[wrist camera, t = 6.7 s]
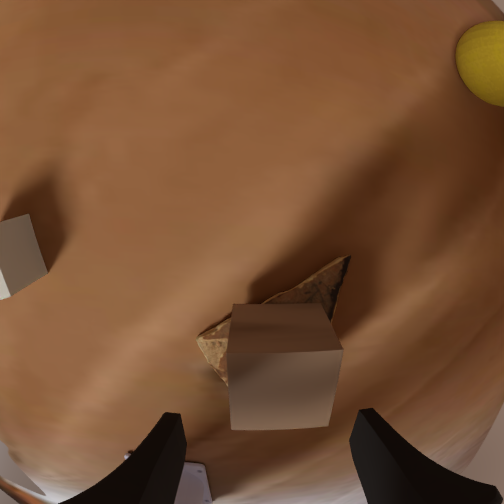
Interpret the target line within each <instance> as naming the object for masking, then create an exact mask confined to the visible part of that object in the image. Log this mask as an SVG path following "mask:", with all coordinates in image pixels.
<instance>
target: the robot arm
mask: <svg viewBox="0 0 504 504" xmlns="http://www.w3.org/2000/svg"><path fill="white" fill-rule="evenodd" d="M349 442H350V447H351V452H352V457H353V461H354V464H355V467H356V470H357V473H358V476H359V479H360V481H361V484H362V487H363V490H364V493H365V496H366V499H367V502H368V504H501V503H502V501H503V498H502V496H501V495H500V493H499V491H498V489H497V488H496V487H495V486H493V485H489V484H485V483H481V482H477V481H474V480H471V479H469V478H466V477H463V476H461V475H458V474H456V473H454V472H452V471H450V470H448V469H446V468H444V467H442V466H441V465H439V464H437V463H436V462H434V461H432V460H431V459H429V458H428V457H426V456H425V455H423V454H422V453H421V452H419V451H418V450H417V449H416V448H414V447H413V446H412V445H411V444H410V443H408V442H407V441H406V440H405V439H404V438H403V437H402V436H401V435H400V434H398V433H397V432H396V431H395V430H394V429H393V428H392V427H391V426H390V425H389V424H388V423H387V422H386V421H385V420H384V419H383V418H382V417H381V416H380V415H379V414H378V413H377V412H376V411H375V410H374V409H373V408H368V409H362V410H359V412H358V415H357V418H356V421H355V424H354V427H353V430H352V433H351V436H350V439H349ZM186 446H187V442H186V438H185V433H184V429H183V424H182V419H181V414H178V413H169V412H165V413H164V414H163V415H162V417H161V418H160V420H159V421H158V422H157V424H156V425H155V427H154V428H153V429H152V430H151V432H150V433H149V434H148V436H147V437H146V438H145V439H144V440H143V441H142V443H141V444H140V445H139V446H138V447H137V448H136V450H135V451H134V452H133V453H132V454H130V453H126V454H125V459H126V460H125V461H124V462H123V463H122V464H121V465H120V466H118V467H117V468H116V469H115V470H114V471H113V472H111V473H110V474H109V475H108V476H106V477H105V478H104V479H102V480H101V481H99V482H98V483H97V484H95V485H94V486H92V487H91V488H89V489H87V490H85V491H84V492H82V493H80V494H78V495H76V496H74V497H73V498H70V499H68V500H66V501H63V502H61V503H58V504H212V498H211V493H210V489H209V484H208V480H207V475H206V470H205V466H204V465H203V464H199V463H189V462H185V455H186Z"/></svg>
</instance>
